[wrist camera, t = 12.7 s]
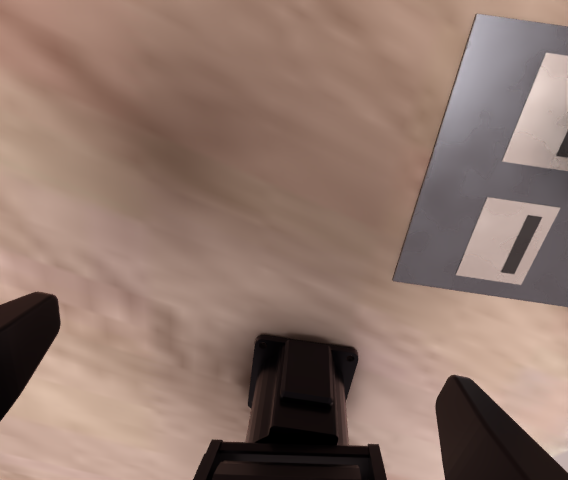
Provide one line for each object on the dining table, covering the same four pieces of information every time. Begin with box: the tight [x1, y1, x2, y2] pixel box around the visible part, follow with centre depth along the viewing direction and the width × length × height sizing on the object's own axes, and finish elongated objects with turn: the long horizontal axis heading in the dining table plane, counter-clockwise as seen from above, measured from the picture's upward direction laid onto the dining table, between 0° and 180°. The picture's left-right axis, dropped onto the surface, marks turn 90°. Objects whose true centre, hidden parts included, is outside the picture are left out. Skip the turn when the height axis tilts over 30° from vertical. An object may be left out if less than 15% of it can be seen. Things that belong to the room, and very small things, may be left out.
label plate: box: [392, 14, 568, 307], centre depth 18 cm, size 13×10×1 cm
